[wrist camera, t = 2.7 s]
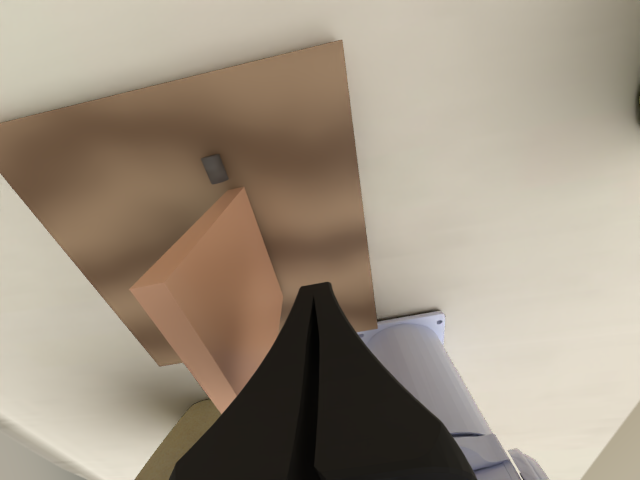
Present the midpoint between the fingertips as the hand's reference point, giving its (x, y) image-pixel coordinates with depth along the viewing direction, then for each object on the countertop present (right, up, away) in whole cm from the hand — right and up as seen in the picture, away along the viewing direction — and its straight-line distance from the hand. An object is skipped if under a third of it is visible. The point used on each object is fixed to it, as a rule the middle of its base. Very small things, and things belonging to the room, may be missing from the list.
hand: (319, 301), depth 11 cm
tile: (-5, +2, +6) cm, 8 cm away
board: (-7, +2, +7) cm, 10 cm away
